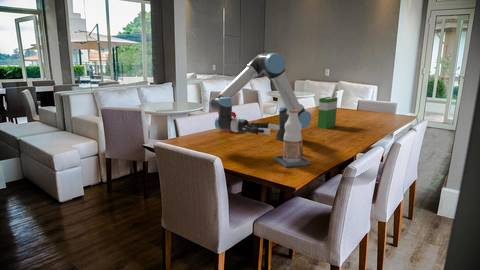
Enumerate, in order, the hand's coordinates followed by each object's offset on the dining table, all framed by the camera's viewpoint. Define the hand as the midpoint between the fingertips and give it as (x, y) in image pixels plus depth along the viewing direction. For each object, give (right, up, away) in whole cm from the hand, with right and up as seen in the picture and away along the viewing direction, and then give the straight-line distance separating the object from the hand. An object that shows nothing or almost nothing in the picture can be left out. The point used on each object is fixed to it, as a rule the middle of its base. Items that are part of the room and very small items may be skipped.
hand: (274, 129), depth 179 cm
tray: (+9, -18, -1) cm, 20 cm away
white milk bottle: (+9, -17, -1) cm, 20 cm away
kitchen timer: (-25, 0, +74) cm, 78 cm away
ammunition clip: (+13, -14, +17) cm, 26 cm away
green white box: (+53, +4, +94) cm, 108 cm away
